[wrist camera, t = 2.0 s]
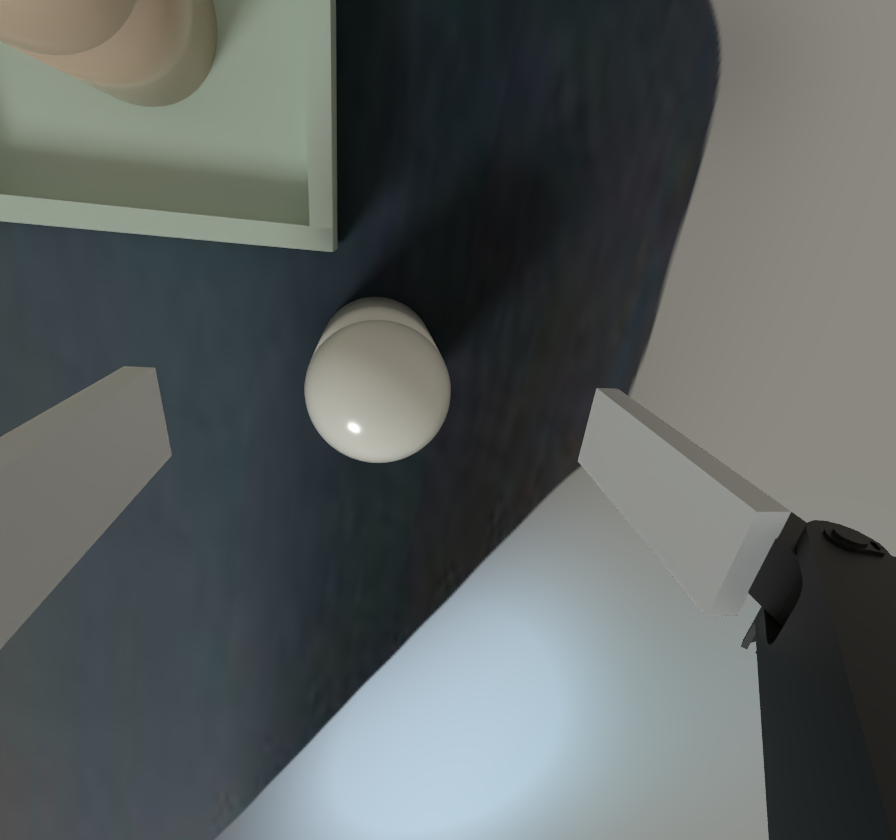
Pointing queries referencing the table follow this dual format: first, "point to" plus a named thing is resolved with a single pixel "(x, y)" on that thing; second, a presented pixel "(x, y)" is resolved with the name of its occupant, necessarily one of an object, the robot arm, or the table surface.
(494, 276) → the table surface
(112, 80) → the egg brown
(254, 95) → the green divided tray
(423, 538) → the table surface
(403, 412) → the egg white
